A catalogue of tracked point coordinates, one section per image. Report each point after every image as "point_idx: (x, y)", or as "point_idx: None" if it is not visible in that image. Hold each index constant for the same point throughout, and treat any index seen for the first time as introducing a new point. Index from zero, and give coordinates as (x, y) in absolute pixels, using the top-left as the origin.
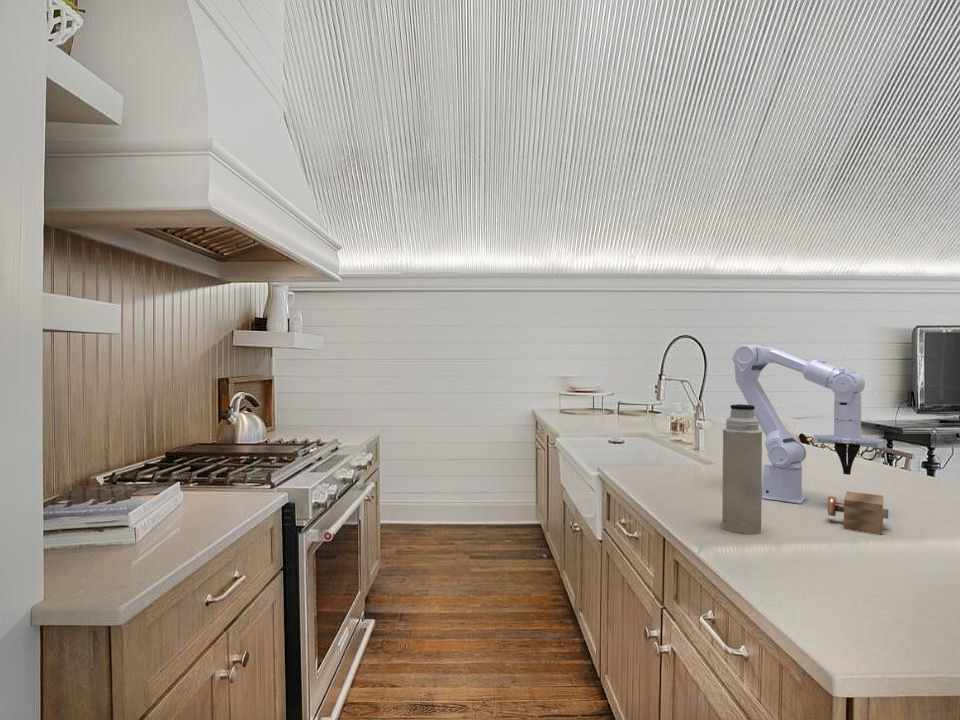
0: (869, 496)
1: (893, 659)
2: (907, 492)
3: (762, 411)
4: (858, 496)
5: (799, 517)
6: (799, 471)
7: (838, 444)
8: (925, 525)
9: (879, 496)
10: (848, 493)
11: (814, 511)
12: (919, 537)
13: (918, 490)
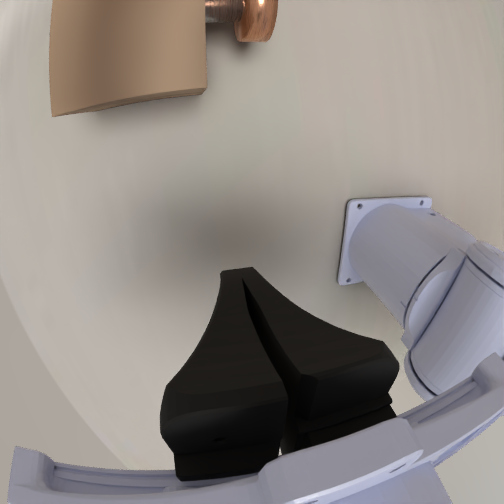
0: (99, 41)
1: None
2: (159, 442)
3: None
4: (146, 2)
5: (334, 23)
6: (411, 280)
7: (365, 423)
8: (16, 200)
9: (62, 83)
10: (195, 34)
11: (306, 129)
12: (15, 46)
13: (152, 454)
